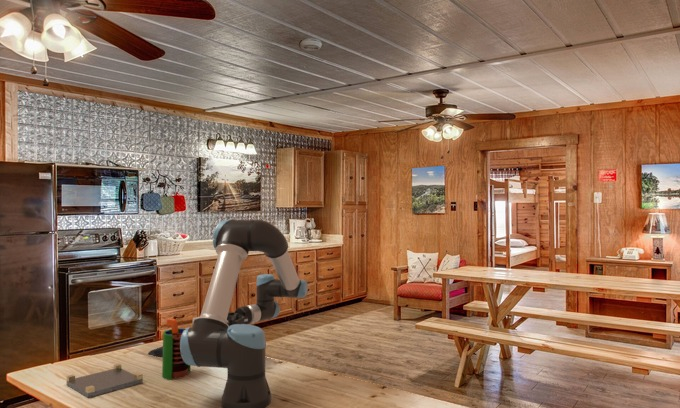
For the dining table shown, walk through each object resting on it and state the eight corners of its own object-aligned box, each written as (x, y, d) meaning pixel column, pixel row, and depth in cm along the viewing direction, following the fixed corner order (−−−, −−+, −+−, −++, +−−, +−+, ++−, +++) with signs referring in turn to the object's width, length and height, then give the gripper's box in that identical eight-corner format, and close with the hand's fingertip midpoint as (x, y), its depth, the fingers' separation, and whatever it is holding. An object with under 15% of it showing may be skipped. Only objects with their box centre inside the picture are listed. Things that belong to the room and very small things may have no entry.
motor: (179, 380, 170) (179, 323, 171) (156, 378, 172) (156, 322, 172) (193, 371, 180) (193, 317, 181) (171, 369, 182) (172, 316, 182)
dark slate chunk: (206, 345, 216) (206, 335, 216) (174, 360, 195) (174, 348, 195) (177, 342, 221) (178, 332, 221) (143, 356, 200) (143, 345, 200)
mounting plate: (142, 382, 168) (142, 374, 168) (88, 398, 154) (88, 388, 154) (118, 371, 180) (119, 363, 180) (66, 384, 166) (66, 376, 166)
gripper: (266, 328, 193) (222, 340, 177) (229, 319, 210) (185, 328, 194) (266, 310, 193) (222, 319, 177) (229, 302, 210) (185, 310, 194)
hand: (202, 324), depth 185 cm, fingers open, 13 cm apart
